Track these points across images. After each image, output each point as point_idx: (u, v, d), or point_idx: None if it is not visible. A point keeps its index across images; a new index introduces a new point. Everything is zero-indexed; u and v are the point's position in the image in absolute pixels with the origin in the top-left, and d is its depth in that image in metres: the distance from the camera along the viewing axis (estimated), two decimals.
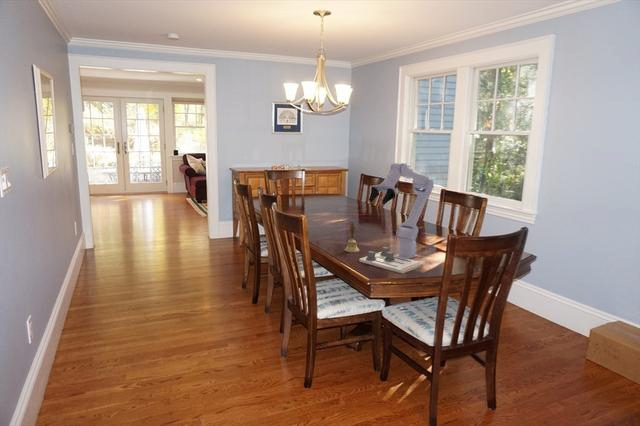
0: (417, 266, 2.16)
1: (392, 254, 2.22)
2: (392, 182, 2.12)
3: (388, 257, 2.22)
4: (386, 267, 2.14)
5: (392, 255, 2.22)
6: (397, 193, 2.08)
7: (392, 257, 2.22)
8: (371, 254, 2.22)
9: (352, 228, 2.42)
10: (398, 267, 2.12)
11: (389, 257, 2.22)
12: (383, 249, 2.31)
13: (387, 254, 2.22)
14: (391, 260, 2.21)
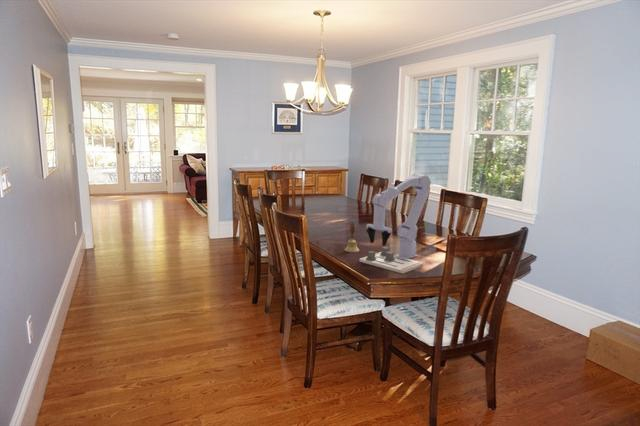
0: (417, 266, 2.16)
1: (392, 254, 2.22)
2: (381, 221, 2.22)
3: (388, 257, 2.22)
4: (386, 267, 2.14)
5: (392, 255, 2.22)
6: (391, 231, 2.21)
7: (392, 257, 2.22)
8: (371, 254, 2.22)
9: (352, 228, 2.42)
10: (398, 267, 2.12)
11: (389, 257, 2.22)
12: (383, 249, 2.31)
13: (387, 254, 2.22)
14: (391, 260, 2.21)
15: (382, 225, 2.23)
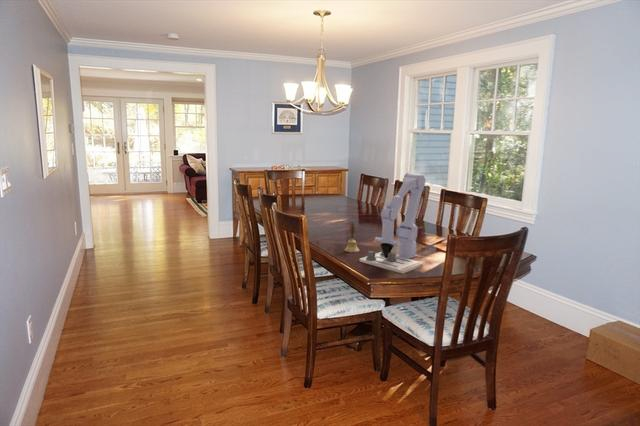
0: (417, 266, 2.16)
1: (394, 255, 2.21)
2: (390, 235, 2.19)
3: (390, 258, 2.21)
4: (386, 267, 2.14)
5: (394, 255, 2.21)
6: (400, 245, 2.18)
7: (394, 258, 2.21)
8: (371, 254, 2.22)
9: (352, 228, 2.42)
10: (398, 267, 2.12)
11: (391, 258, 2.21)
12: None
13: (389, 254, 2.21)
14: (393, 261, 2.21)
15: (391, 239, 2.20)
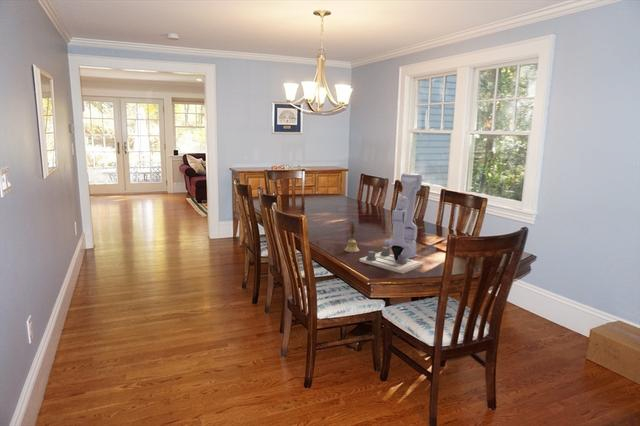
0: (417, 266, 2.16)
1: (404, 257, 2.17)
2: (401, 237, 2.15)
3: (400, 260, 2.17)
4: (386, 267, 2.14)
5: (404, 258, 2.17)
6: (411, 248, 2.14)
7: (404, 260, 2.17)
8: (371, 254, 2.22)
9: (352, 228, 2.42)
10: (398, 267, 2.12)
11: (401, 260, 2.17)
12: (383, 249, 2.31)
13: (399, 257, 2.17)
14: (403, 263, 2.16)
15: (401, 241, 2.16)
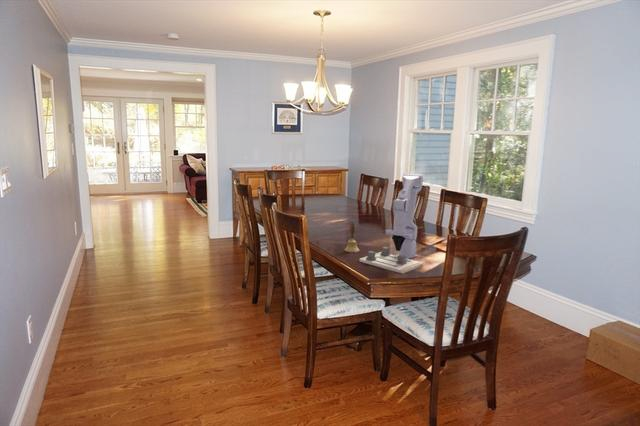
0: (417, 266, 2.16)
1: (404, 257, 2.17)
2: (402, 227, 2.14)
3: (400, 260, 2.17)
4: (386, 267, 2.14)
5: (404, 258, 2.17)
6: (412, 237, 2.13)
7: (404, 260, 2.17)
8: (371, 254, 2.22)
9: (352, 228, 2.42)
10: (398, 267, 2.12)
11: (401, 260, 2.17)
12: (383, 249, 2.31)
13: (399, 257, 2.17)
14: (403, 263, 2.16)
15: (403, 231, 2.15)
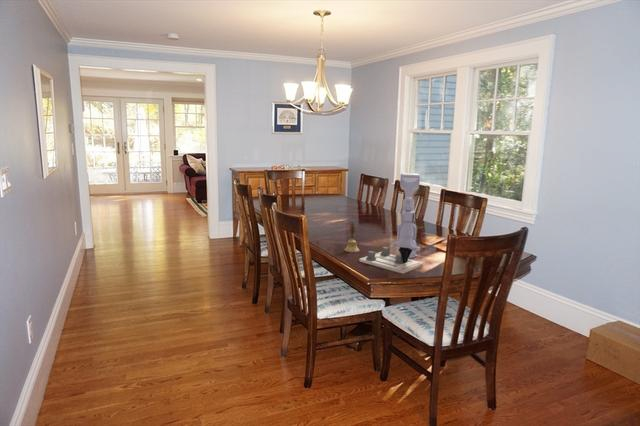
0: (417, 266, 2.16)
1: None
2: (409, 239, 2.12)
3: (398, 260, 2.18)
4: (386, 267, 2.14)
5: None
6: (419, 250, 2.11)
7: None
8: (371, 254, 2.22)
9: (352, 228, 2.42)
10: (398, 267, 2.12)
11: (399, 260, 2.17)
12: (383, 249, 2.31)
13: (397, 257, 2.18)
14: (401, 263, 2.17)
15: (410, 243, 2.13)
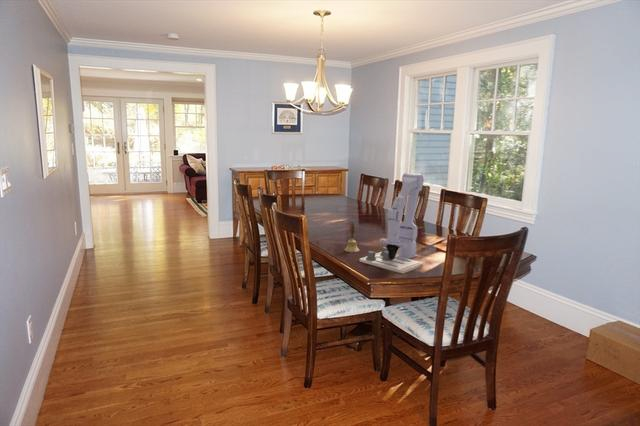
0: (417, 266, 2.16)
1: None
2: (396, 236, 2.17)
3: (386, 256, 2.23)
4: (386, 267, 2.14)
5: None
6: (406, 246, 2.16)
7: None
8: (371, 254, 2.22)
9: (352, 228, 2.42)
10: (398, 267, 2.12)
11: (387, 256, 2.23)
12: (383, 249, 2.31)
13: (385, 253, 2.23)
14: (389, 259, 2.22)
15: (396, 240, 2.18)
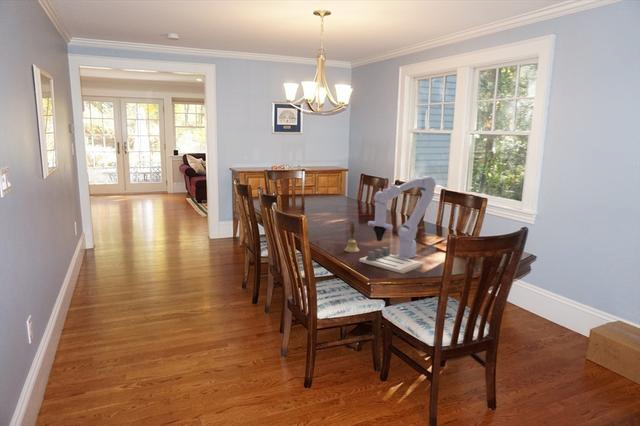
0: (417, 266, 2.16)
1: (381, 251, 2.27)
2: (383, 218, 2.25)
3: (377, 254, 2.27)
4: (386, 267, 2.14)
5: (381, 252, 2.27)
6: (392, 228, 2.24)
7: (381, 254, 2.27)
8: (371, 254, 2.22)
9: (352, 228, 2.42)
10: (398, 267, 2.12)
11: (378, 254, 2.26)
12: (383, 249, 2.31)
13: (376, 251, 2.27)
14: (380, 257, 2.26)
15: (383, 222, 2.26)
